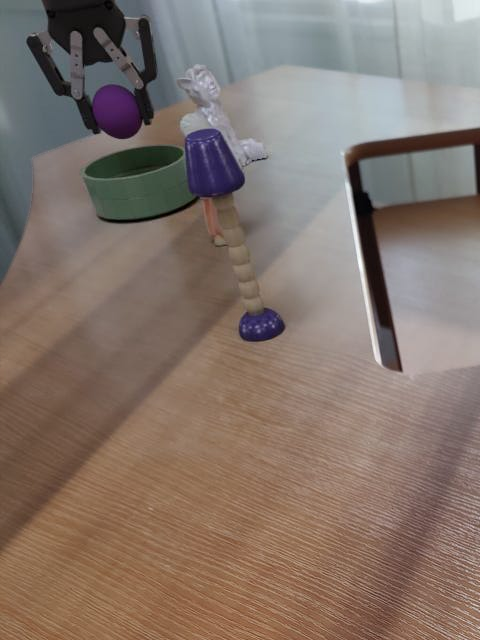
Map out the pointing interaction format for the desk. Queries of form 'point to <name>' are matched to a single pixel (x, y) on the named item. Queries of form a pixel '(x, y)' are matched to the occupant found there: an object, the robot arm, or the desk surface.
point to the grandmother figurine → (210, 211)
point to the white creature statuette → (218, 113)
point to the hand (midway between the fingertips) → (122, 127)
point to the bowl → (138, 182)
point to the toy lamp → (229, 223)
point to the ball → (117, 111)
